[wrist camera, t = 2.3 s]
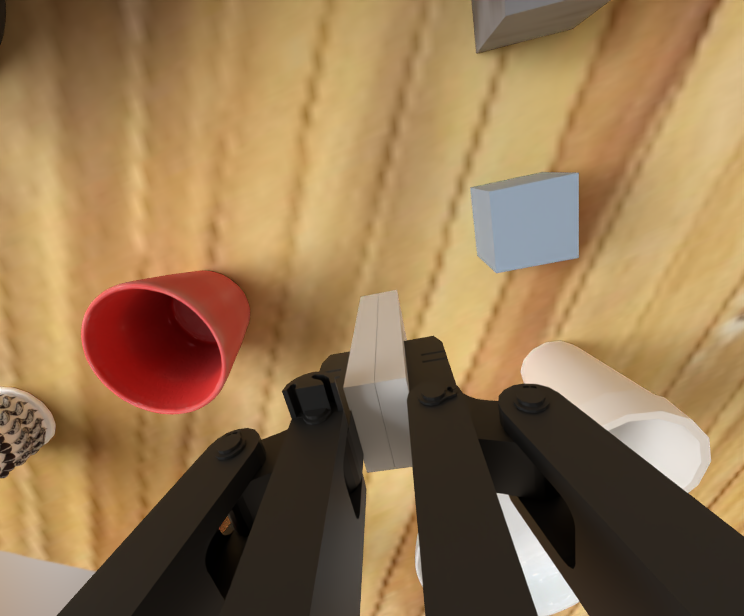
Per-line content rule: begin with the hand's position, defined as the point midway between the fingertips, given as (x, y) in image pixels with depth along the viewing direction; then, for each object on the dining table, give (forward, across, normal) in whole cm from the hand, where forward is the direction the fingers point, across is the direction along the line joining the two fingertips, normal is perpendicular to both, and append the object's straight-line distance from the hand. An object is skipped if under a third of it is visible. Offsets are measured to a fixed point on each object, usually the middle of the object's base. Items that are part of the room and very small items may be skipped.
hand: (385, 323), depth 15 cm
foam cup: (+19, +14, -16) cm, 29 cm away
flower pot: (+19, -18, -3) cm, 26 cm away
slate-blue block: (+19, +11, 0) cm, 22 cm away
